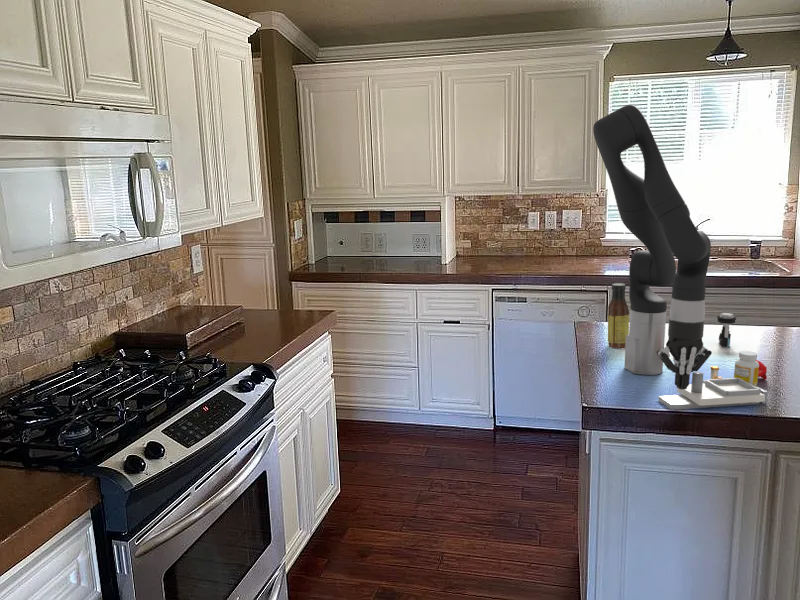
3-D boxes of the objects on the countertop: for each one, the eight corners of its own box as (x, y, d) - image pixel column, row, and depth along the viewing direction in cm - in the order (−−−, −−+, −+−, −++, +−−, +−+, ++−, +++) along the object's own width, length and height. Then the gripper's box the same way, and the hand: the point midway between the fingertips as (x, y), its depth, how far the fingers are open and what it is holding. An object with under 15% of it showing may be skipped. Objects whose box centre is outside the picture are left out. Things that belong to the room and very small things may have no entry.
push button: (712, 341, 210) (714, 311, 208) (730, 342, 209) (733, 311, 207) (717, 347, 204) (719, 315, 202) (735, 348, 203) (738, 316, 201)
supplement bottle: (739, 393, 164) (742, 356, 162) (728, 386, 169) (731, 350, 167) (761, 393, 164) (764, 355, 162) (750, 385, 169) (753, 349, 167)
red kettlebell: (753, 375, 167) (772, 361, 168) (734, 361, 172) (753, 348, 172) (755, 393, 172) (773, 380, 173) (737, 379, 177) (755, 367, 177)
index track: (671, 409, 154) (672, 384, 153) (647, 393, 165) (648, 369, 164) (766, 403, 157) (768, 379, 155) (736, 387, 168) (738, 364, 167)
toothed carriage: (699, 405, 152) (701, 380, 151) (674, 389, 163) (676, 366, 162) (764, 401, 154) (766, 376, 153) (735, 385, 165) (737, 362, 164)
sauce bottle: (631, 346, 207) (635, 283, 203) (622, 350, 202) (626, 286, 198) (612, 342, 211) (614, 281, 207) (602, 346, 207) (605, 284, 203)
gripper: (704, 312, 157) (699, 381, 161) (651, 314, 156) (647, 384, 160) (723, 319, 150) (716, 392, 154) (667, 322, 149) (662, 395, 152)
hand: (681, 388), depth 157 cm, fingers closed
